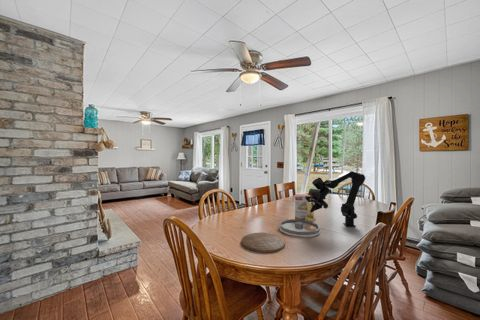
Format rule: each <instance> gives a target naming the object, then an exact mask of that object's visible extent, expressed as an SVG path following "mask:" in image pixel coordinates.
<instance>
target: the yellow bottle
mask: <svg viewBox="0 0 480 320" xmlns="http://www.w3.org/2000/svg"><path fill="white" fill-rule="evenodd" d="M312 207H313V203H311V202H308V203H307V217H305V221H309V222H314V223H315V222H316V221H317V218H316V217H315V216H314V217H313V212H310V210H311V209H312Z"/></svg>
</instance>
